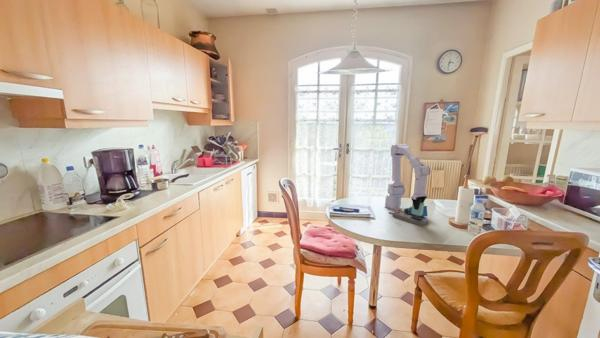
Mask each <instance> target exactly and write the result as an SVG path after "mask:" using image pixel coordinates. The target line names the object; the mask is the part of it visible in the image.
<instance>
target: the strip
mask: <svg viewBox="0 0 600 338" xmlns="http://www.w3.org/2000/svg"><path fill="white" fill-rule="evenodd" d="M388 214H389V215H392V217H394V218H397V219H399V220H402V221H406V222H408V223H412V224H414V225H416V226H420V227H424V226H425V225H427V224H428V223H429V222H428V219H427V218H423V217H422V216H414V215H411V214H407V213H404V211H401V210H394V212H390V211H389V212H388Z"/></svg>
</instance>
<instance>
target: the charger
mask: <svg viewBox="0 0 600 338" xmlns="http://www.w3.org/2000/svg"><path fill="white" fill-rule="evenodd" d="M411 206H412V212H411V214H414V215H418V217H422V216H421V215H423V210H424V206H425V202H424V203H422V202H420V205H419V209H418V210H416V209H414V205H413V203H412V205H411Z"/></svg>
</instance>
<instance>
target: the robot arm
mask: <svg viewBox="0 0 600 338" xmlns="http://www.w3.org/2000/svg"><path fill="white" fill-rule="evenodd" d="M390 157H391V177H392V179H391V182H389V183H388V187H387V193H388V194H386V196H385V204H384V208H385V209H386V208H387V209H391V210H394V211H400V210H401V209H403V206H402V205H401V204H402V197H403V195H404V194H405V193H406V188H405V184H404V183H403V182H402V181H401V158H402V157H405V158H407V160H409V161H408V163H409V164H410V166H411V167H412V169H413V172H414V177H415V183H414V191H413V194H412V195H411V197H410V198H411V202H412V204H413V205H414V209H416V210H418V209H419V205H420V202H422V203H424V204H425V200H426V199H427V198H428V194H427V191H426V190H427V182H428V181H427V180H428V176H430V174H431V167H430V166H429V165H428V164H424V162H423V161H422V160H421V159H420V158H419V157H417V156H414V154H413V153H412V151H411V147H410V145H409V144H408V143H393V144H392V145H391V146H390Z"/></svg>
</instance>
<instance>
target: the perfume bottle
mask: <svg viewBox="0 0 600 338" xmlns="http://www.w3.org/2000/svg"><path fill="white" fill-rule="evenodd" d="M403 212H404V213H407V214H411V212H412V205H411V206H409V207H406V208H404V211H403ZM411 215H414V214H411ZM414 216H418V215H414ZM418 217H419V216H418ZM420 217H428V206H427V205H424V210H423V215H421V216H420Z"/></svg>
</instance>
